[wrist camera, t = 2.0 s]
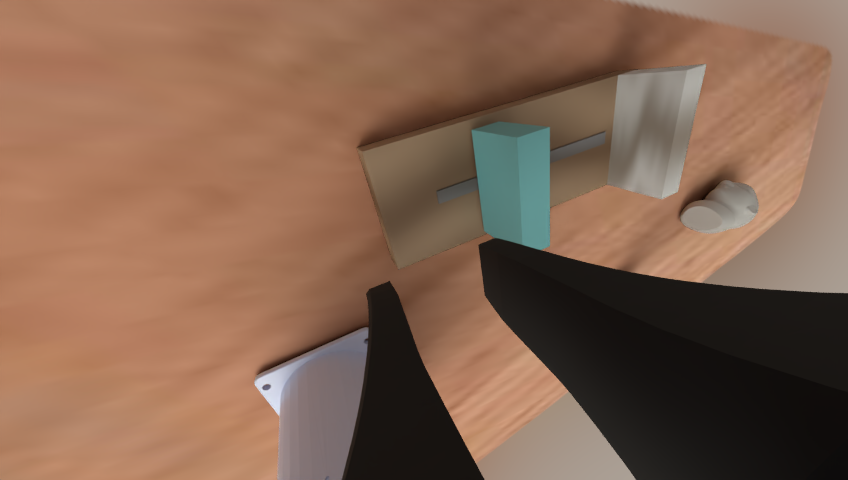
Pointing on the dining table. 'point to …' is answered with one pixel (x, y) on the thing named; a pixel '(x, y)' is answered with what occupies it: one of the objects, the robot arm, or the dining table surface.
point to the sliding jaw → (514, 181)
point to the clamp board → (569, 154)
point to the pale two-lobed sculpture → (722, 208)
